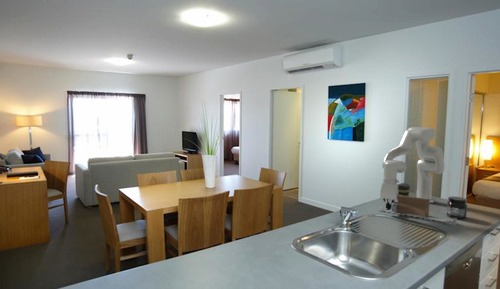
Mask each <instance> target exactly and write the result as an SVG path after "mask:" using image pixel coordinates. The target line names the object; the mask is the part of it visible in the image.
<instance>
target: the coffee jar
mask: <svg viewBox="0 0 500 289" xmlns="http://www.w3.org/2000/svg"><path fill="white" fill-rule="evenodd" d="M397 184H398V190H399V195H403V196H410V189H411V188H410V185H409V183H404V182H402V183H397Z"/></svg>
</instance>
